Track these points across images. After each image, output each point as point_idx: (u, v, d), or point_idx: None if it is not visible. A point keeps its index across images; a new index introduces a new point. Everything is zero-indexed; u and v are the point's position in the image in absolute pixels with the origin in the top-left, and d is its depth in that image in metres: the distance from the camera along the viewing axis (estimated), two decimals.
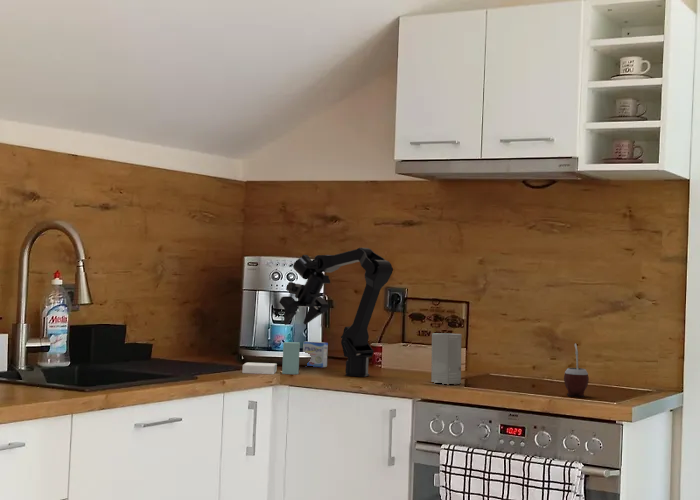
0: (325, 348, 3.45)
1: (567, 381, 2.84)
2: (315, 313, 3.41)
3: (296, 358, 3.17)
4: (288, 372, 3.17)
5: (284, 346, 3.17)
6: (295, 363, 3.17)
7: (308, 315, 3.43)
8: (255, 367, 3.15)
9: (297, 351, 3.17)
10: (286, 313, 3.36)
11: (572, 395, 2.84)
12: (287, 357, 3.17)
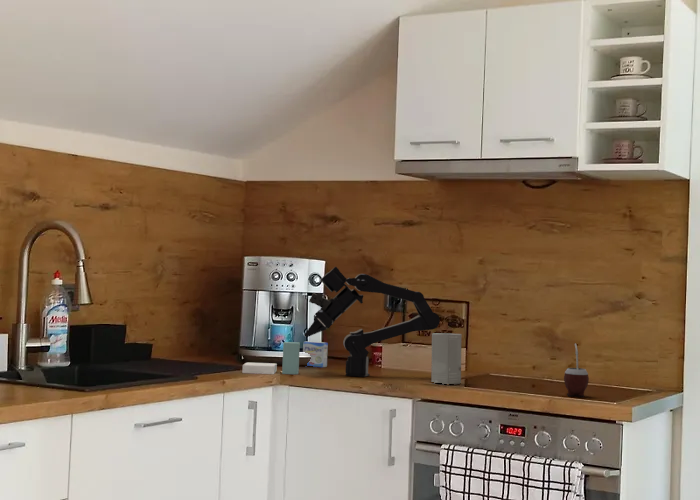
0: (325, 348, 3.45)
1: (567, 381, 2.84)
2: (324, 326, 3.24)
3: (296, 358, 3.17)
4: (288, 372, 3.17)
5: (284, 346, 3.17)
6: (295, 363, 3.17)
7: None
8: (255, 367, 3.15)
9: (297, 351, 3.17)
10: (313, 326, 3.14)
11: (572, 395, 2.84)
12: (287, 357, 3.17)
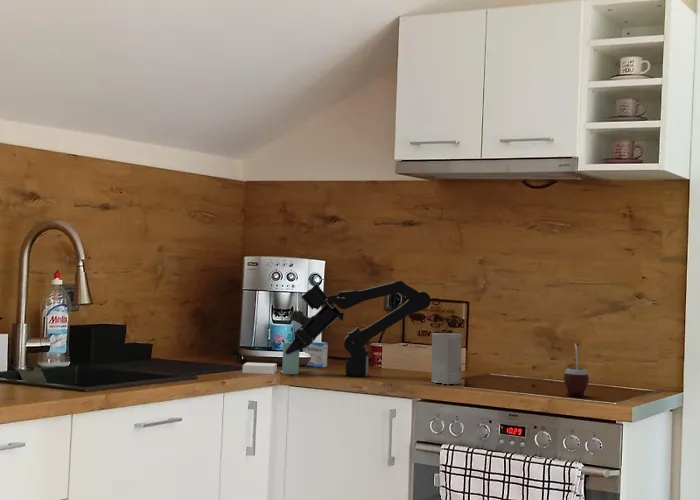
0: (325, 348, 3.45)
1: (567, 381, 2.84)
2: None
3: (296, 358, 3.17)
4: (288, 372, 3.17)
5: (284, 346, 3.17)
6: (295, 363, 3.17)
7: None
8: (255, 367, 3.15)
9: (297, 351, 3.17)
10: (294, 343, 3.16)
11: (572, 395, 2.84)
12: (287, 356, 3.17)
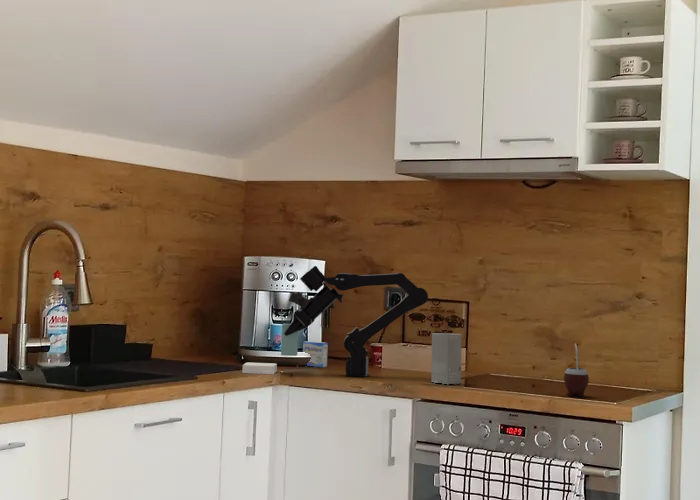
0: (325, 348, 3.45)
1: (567, 381, 2.84)
2: None
3: (295, 339, 3.17)
4: (287, 353, 3.17)
5: (283, 327, 3.18)
6: (294, 345, 3.17)
7: None
8: (255, 367, 3.15)
9: (296, 332, 3.17)
10: (293, 325, 3.16)
11: (572, 395, 2.84)
12: (285, 338, 3.17)
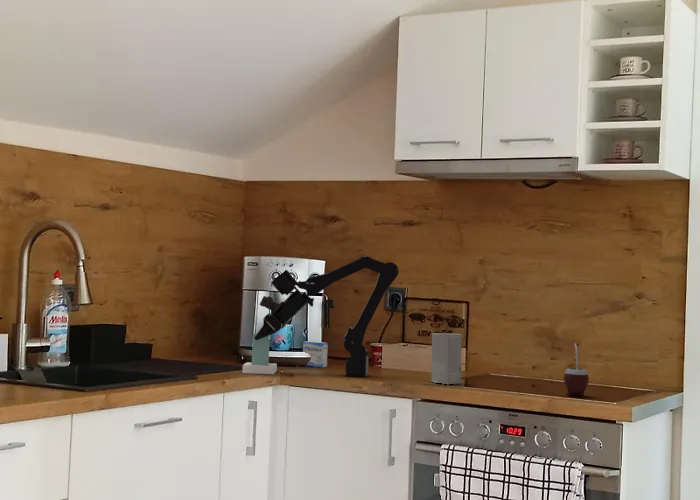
0: (325, 348, 3.45)
1: (567, 381, 2.84)
2: None
3: (265, 349, 3.17)
4: (257, 363, 3.17)
5: (253, 337, 3.18)
6: (264, 354, 3.17)
7: None
8: (255, 367, 3.15)
9: (266, 342, 3.18)
10: (263, 329, 3.14)
11: (572, 395, 2.84)
12: (256, 347, 3.18)
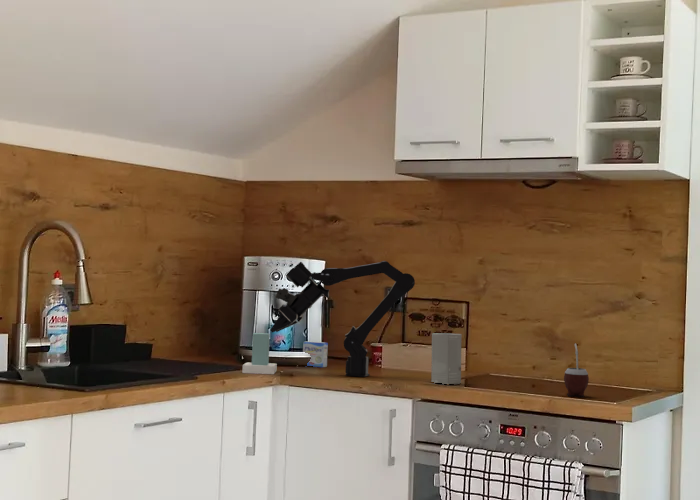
0: (325, 348, 3.45)
1: (567, 381, 2.84)
2: (292, 322, 3.25)
3: (265, 349, 3.17)
4: (257, 363, 3.17)
5: (253, 337, 3.18)
6: (264, 354, 3.17)
7: None
8: (255, 367, 3.15)
9: (266, 342, 3.18)
10: (279, 321, 3.15)
11: (572, 395, 2.84)
12: (256, 347, 3.18)
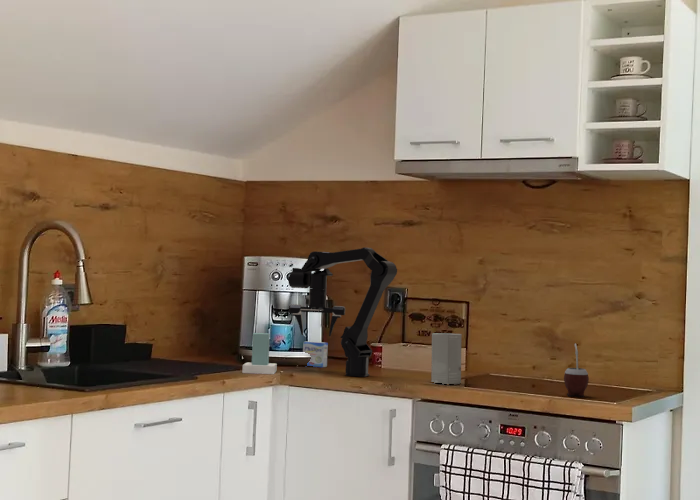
0: (325, 348, 3.45)
1: (567, 381, 2.84)
2: None
3: (265, 349, 3.17)
4: (257, 363, 3.17)
5: (253, 337, 3.18)
6: (264, 354, 3.17)
7: None
8: (255, 367, 3.15)
9: (266, 342, 3.18)
10: None
11: (572, 395, 2.84)
12: (256, 347, 3.18)
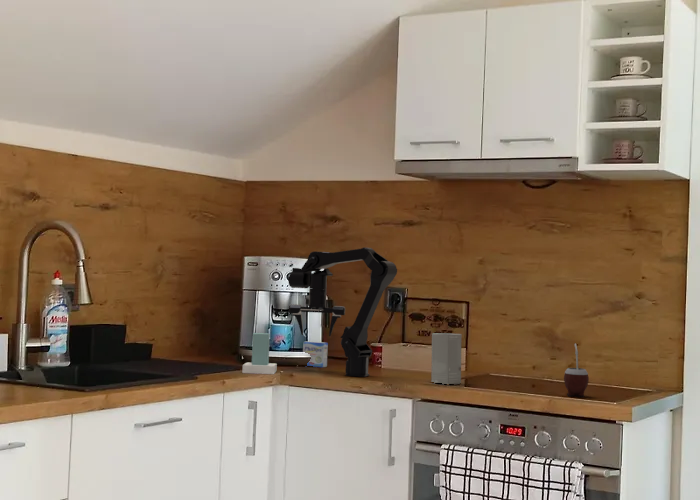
0: (325, 348, 3.45)
1: (567, 381, 2.84)
2: None
3: (265, 349, 3.17)
4: (257, 363, 3.17)
5: (253, 337, 3.18)
6: (264, 354, 3.17)
7: None
8: (255, 367, 3.15)
9: (266, 342, 3.18)
10: None
11: (572, 395, 2.84)
12: (256, 347, 3.18)
